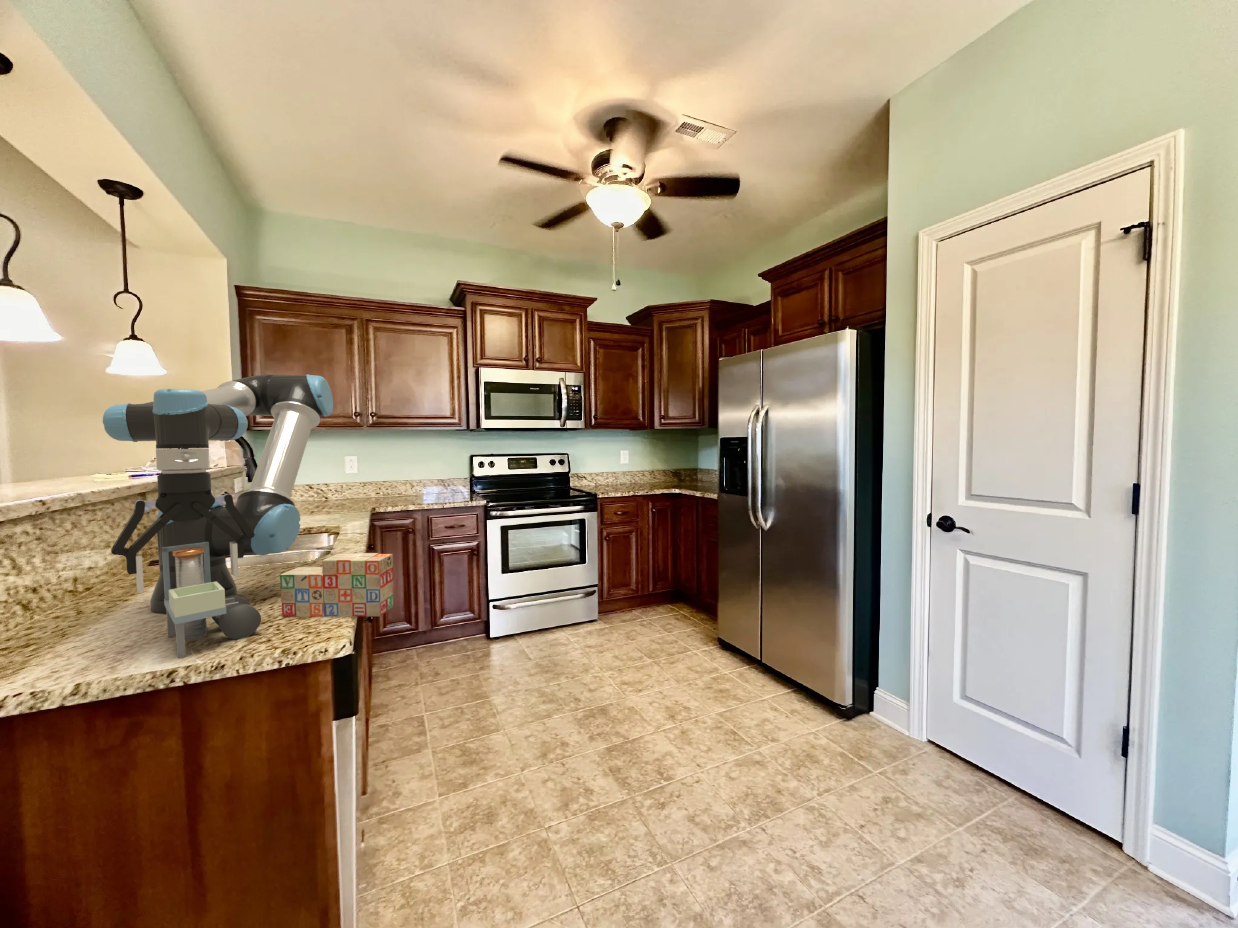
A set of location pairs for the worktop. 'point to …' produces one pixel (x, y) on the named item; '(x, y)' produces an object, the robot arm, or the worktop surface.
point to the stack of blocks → (340, 587)
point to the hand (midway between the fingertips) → (190, 582)
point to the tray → (196, 599)
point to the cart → (231, 619)
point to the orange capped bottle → (191, 583)
